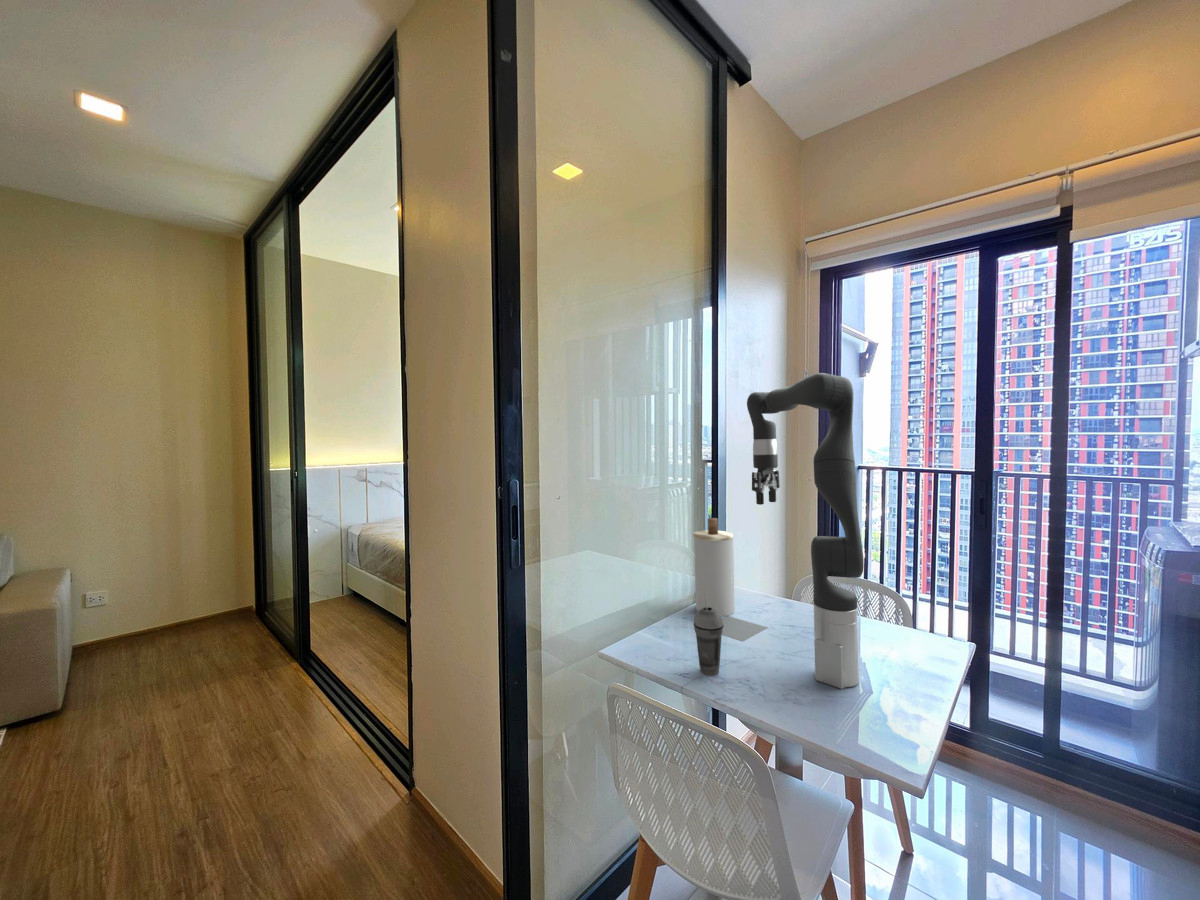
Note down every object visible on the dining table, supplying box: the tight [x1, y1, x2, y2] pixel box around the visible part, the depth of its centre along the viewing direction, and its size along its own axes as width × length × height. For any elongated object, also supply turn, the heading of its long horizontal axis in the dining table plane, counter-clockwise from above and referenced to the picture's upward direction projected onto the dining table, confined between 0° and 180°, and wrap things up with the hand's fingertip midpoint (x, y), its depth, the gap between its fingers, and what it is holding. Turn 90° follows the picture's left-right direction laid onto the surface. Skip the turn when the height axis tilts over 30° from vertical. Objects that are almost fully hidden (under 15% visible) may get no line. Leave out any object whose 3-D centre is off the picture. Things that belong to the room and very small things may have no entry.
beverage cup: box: [692, 589, 724, 677], centre depth 117 cm, size 7×7×20 cm
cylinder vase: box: [693, 537, 736, 618], centre depth 158 cm, size 12×12×25 cm
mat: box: [721, 615, 769, 642], centre depth 142 cm, size 14×14×1 cm
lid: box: [692, 517, 734, 541], centre depth 158 cm, size 13×13×6 cm
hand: (766, 503), depth 154 cm, fingers open, 8 cm apart
